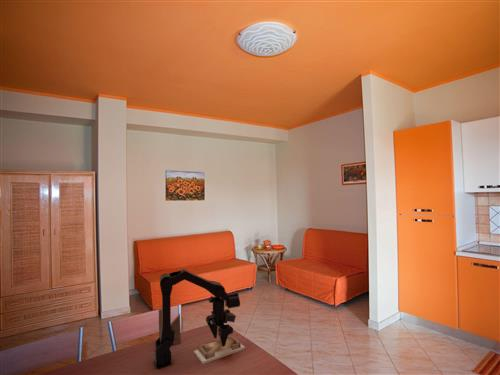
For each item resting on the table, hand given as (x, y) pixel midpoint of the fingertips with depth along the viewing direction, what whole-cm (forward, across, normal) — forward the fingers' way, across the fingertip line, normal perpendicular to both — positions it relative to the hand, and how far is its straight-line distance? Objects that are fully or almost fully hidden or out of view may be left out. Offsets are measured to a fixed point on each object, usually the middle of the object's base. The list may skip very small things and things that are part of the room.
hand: (219, 342), depth 142 cm
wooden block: (+5, +22, +18) cm, 28 cm away
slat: (+3, 0, 0) cm, 3 cm away
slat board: (+4, 0, 0) cm, 4 cm away
